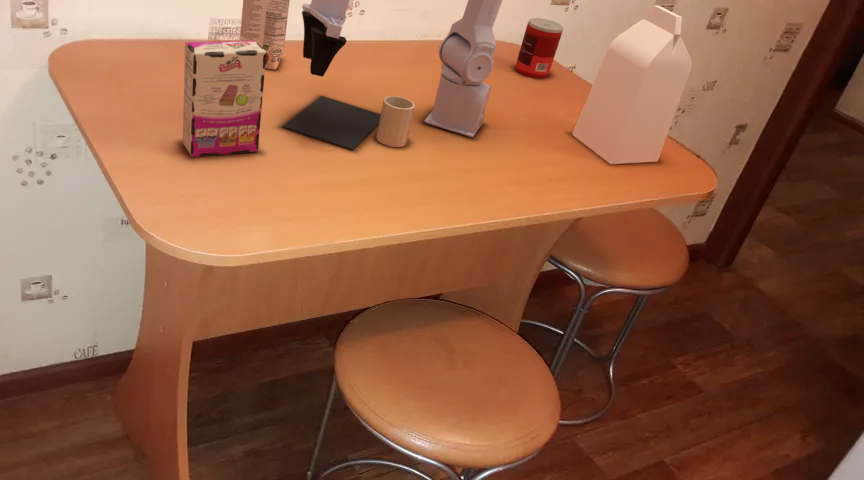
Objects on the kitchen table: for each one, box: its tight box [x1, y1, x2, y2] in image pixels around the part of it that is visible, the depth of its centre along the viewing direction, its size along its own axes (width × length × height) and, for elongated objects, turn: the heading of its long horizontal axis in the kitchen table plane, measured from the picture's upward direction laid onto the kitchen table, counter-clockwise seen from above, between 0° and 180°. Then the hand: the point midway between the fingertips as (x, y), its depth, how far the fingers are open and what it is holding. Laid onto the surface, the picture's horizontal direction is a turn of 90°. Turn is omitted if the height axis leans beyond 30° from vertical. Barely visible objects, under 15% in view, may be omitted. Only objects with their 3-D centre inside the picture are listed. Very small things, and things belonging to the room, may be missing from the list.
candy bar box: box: [182, 40, 266, 158], centre depth 120 cm, size 11×5×16 cm, turn 118°
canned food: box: [515, 17, 564, 79], centre depth 176 cm, size 8×8×11 cm
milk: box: [571, 5, 693, 165], centre depth 144 cm, size 12×12×26 cm
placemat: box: [281, 95, 381, 151], centre depth 139 cm, size 13×17×1 cm
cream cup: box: [375, 95, 416, 148], centre depth 135 cm, size 5×5×7 cm
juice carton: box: [239, 0, 291, 70], centre depth 151 cm, size 8×9×19 cm
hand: (312, 66), depth 130 cm, fingers open, 7 cm apart
